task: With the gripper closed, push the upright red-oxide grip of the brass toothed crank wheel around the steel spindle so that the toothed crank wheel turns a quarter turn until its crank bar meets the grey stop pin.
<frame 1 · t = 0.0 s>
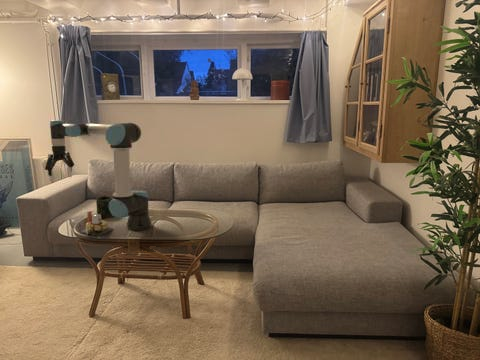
hand: (60, 178, 234), 28 cm above the table, fingers open, 13 cm apart
mug: (103, 215, 254), on the table
toothed crank wheel: (95, 221, 223), point 6 cm above the table, hinge at 0.0°
spindle base: (97, 231, 223), on the table
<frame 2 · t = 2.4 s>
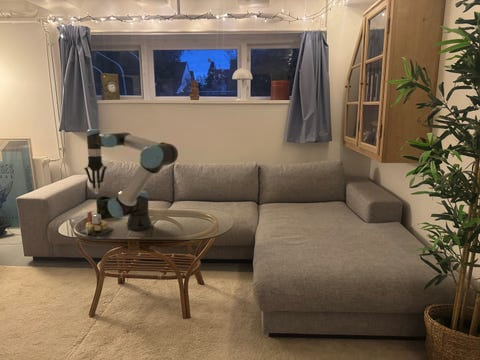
hand: (96, 193, 227), 21 cm above the table, fingers closed
nothing on the table moved.
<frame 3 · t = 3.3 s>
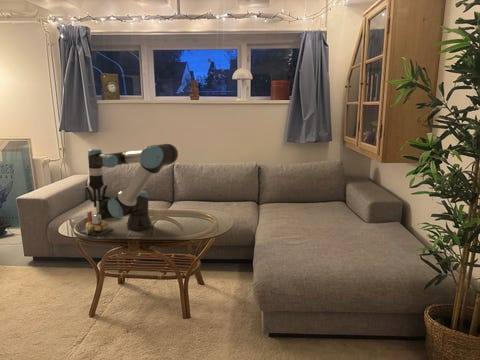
hand: (97, 211, 230), 9 cm above the table, fingers closed
nothing on the table moved.
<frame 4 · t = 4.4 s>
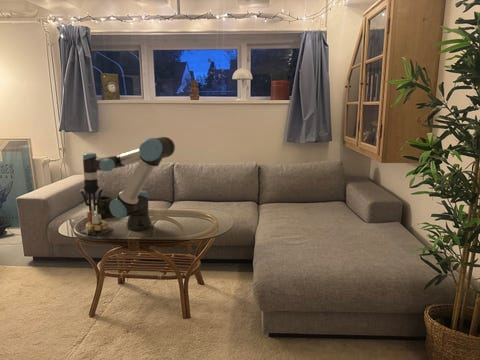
hand: (92, 216, 229), 7 cm above the table, fingers closed
toothed crank wheel: (95, 221, 223), point 6 cm above the table, hinge at 0.3°, touching gripper
everything else where it was.
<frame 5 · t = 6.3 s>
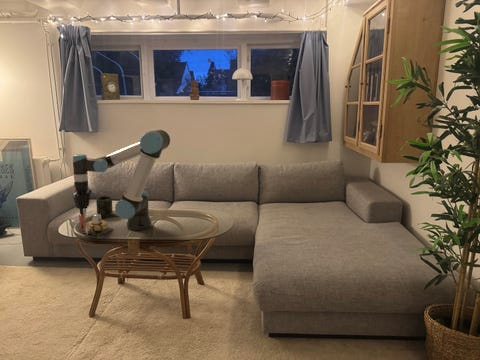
hand: (83, 218, 223), 7 cm above the table, fingers closed
toothed crank wheel: (93, 221, 222), point 6 cm above the table, hinge at 43.6°, touching gripper
everything else where it was.
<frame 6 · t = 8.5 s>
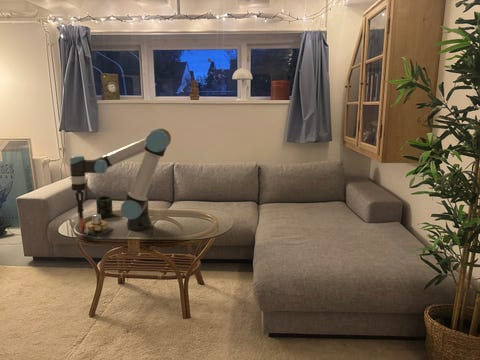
hand: (81, 222, 217), 7 cm above the table, fingers closed
toothed crank wheel: (93, 222, 221), point 6 cm above the table, hinge at 90.0°
everything else where it was.
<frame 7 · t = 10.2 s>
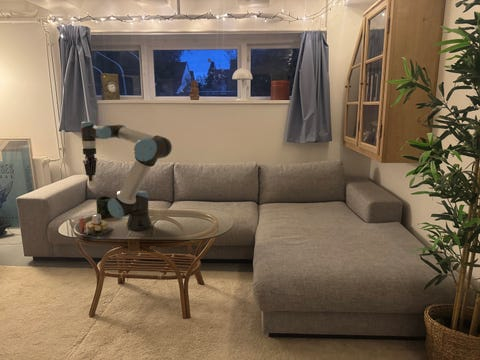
hand: (91, 185, 228), 26 cm above the table, fingers closed
nothing on the table moved.
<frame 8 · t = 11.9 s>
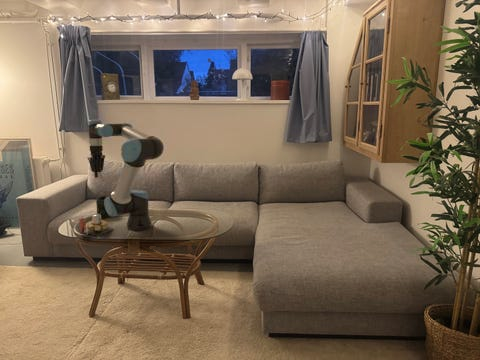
hand: (97, 182, 235), 26 cm above the table, fingers closed
nothing on the table moved.
at the end: toothed crank wheel at +90° (first picture: +0°); toothed crank wheel touching nothing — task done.
